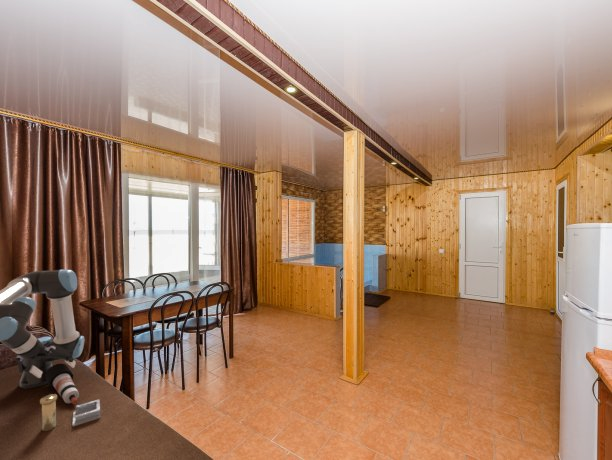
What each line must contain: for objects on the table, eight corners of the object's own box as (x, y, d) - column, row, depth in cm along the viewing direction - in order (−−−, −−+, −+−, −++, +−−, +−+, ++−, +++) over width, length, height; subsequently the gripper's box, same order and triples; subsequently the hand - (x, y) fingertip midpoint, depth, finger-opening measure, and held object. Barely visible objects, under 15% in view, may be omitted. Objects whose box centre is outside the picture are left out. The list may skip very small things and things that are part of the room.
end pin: (41, 426, 129) (40, 396, 129) (58, 421, 132) (57, 392, 132) (39, 433, 125) (39, 403, 124) (57, 428, 128) (56, 398, 127)
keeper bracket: (73, 413, 138) (73, 406, 138) (99, 405, 144) (99, 398, 143) (72, 426, 129) (72, 419, 129) (100, 417, 135) (100, 410, 135)
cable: (69, 417, 142) (57, 404, 137) (51, 385, 162) (40, 373, 158) (91, 399, 148) (80, 387, 144) (71, 371, 169) (61, 359, 165)
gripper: (-14, 364, 116) (22, 387, 129) (58, 344, 121) (85, 368, 134) (-5, 347, 121) (29, 371, 135) (63, 328, 126) (89, 353, 140)
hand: (57, 370), depth 134 cm, fingers open, 13 cm apart
